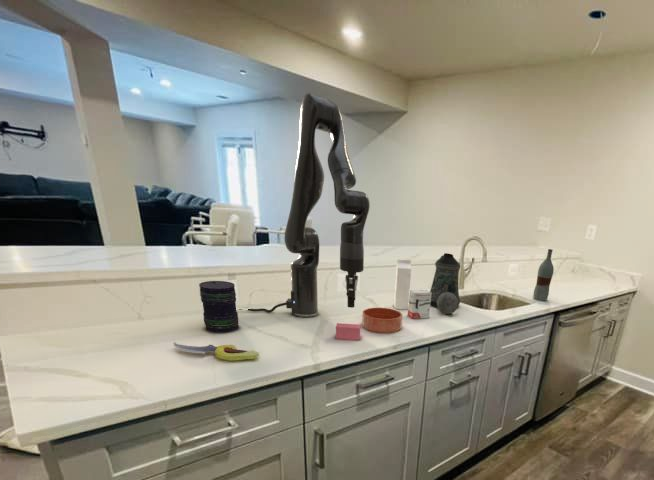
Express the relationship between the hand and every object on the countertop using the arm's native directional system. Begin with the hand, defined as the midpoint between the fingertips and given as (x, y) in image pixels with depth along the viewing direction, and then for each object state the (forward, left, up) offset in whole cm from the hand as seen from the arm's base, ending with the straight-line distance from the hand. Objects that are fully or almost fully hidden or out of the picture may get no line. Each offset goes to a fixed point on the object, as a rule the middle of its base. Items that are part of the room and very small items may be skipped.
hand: (351, 303), depth 132 cm
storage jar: (-42, +2, -13) cm, 44 cm away
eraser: (-1, -1, -12) cm, 12 cm away
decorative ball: (+41, +37, -13) cm, 57 cm away
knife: (-37, -20, -13) cm, 44 cm away
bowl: (+11, +13, -12) cm, 21 cm away
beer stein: (+41, +53, -13) cm, 69 cm away
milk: (+20, +42, -13) cm, 49 cm away
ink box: (+27, +29, -13) cm, 42 cm away
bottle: (+107, +81, -13) cm, 135 cm away
